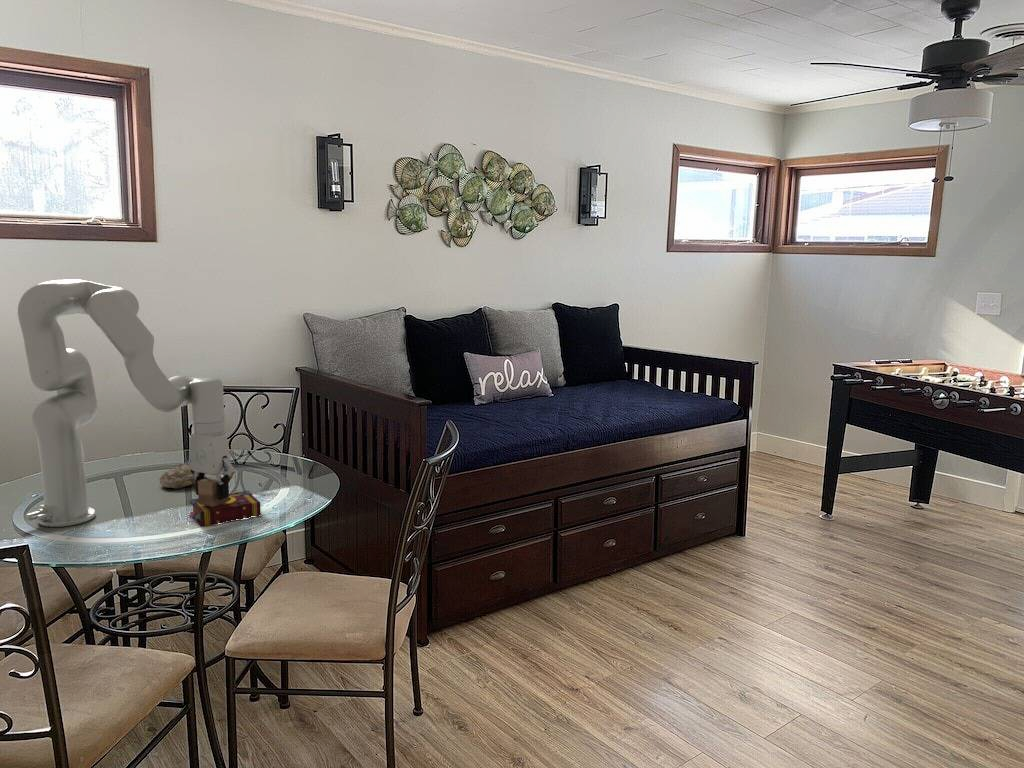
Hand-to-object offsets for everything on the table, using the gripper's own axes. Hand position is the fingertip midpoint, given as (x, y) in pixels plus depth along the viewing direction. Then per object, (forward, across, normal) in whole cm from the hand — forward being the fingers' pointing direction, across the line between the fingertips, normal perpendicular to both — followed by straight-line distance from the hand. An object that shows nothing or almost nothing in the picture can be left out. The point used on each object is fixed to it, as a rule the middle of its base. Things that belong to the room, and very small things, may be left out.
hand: (212, 495), depth 199 cm
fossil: (+7, -32, +16) cm, 36 cm away
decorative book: (+7, 0, +4) cm, 8 cm away
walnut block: (+2, 0, 0) cm, 2 cm away
